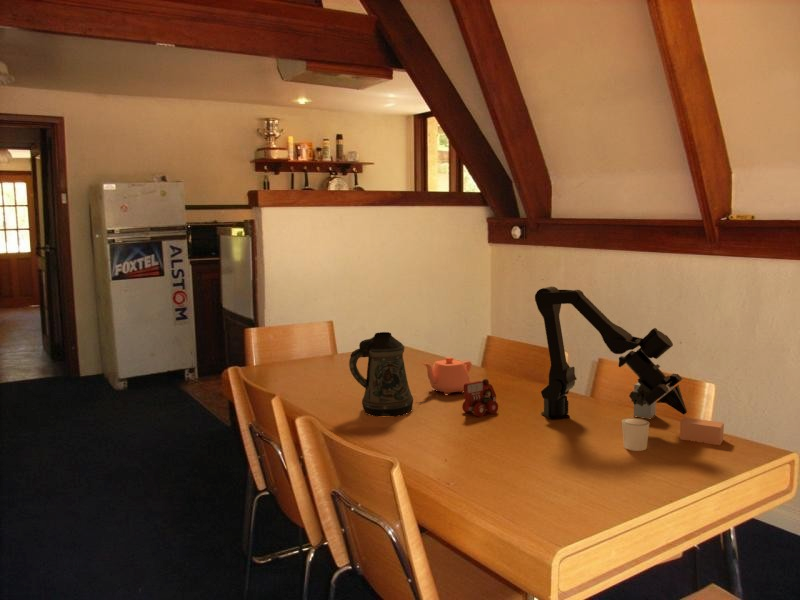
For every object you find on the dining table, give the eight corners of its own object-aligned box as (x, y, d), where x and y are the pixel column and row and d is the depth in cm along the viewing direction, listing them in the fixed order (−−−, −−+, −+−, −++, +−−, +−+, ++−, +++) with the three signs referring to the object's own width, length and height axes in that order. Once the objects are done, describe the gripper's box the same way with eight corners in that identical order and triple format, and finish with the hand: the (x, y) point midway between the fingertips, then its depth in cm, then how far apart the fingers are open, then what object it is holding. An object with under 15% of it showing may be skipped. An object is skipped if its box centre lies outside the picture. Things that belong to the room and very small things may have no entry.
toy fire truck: (502, 411, 213) (502, 379, 212) (472, 419, 206) (472, 385, 205) (488, 407, 219) (487, 375, 218) (458, 414, 212) (457, 381, 211)
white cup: (648, 444, 181) (649, 418, 180) (649, 452, 174) (649, 426, 173) (621, 441, 183) (622, 416, 182) (621, 450, 176) (621, 424, 175)
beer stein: (424, 408, 218) (422, 332, 215) (381, 422, 204) (379, 340, 201) (387, 400, 230) (385, 327, 227) (344, 413, 216) (342, 335, 213)
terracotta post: (680, 421, 184) (720, 427, 178) (684, 417, 188) (723, 422, 182) (679, 439, 184) (719, 446, 179) (683, 434, 188) (723, 440, 183)
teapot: (413, 391, 241) (413, 357, 239) (461, 384, 250) (460, 351, 248) (433, 400, 229) (432, 364, 227) (482, 391, 238) (482, 357, 237)
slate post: (633, 417, 205) (634, 384, 204) (638, 413, 209) (639, 381, 208) (650, 419, 202) (651, 386, 201) (655, 415, 206) (656, 383, 205)
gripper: (634, 379, 202) (671, 421, 197) (613, 393, 187) (653, 439, 181) (662, 356, 196) (702, 398, 191) (643, 368, 181) (686, 415, 176)
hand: (685, 413), depth 185 cm, fingers closed
